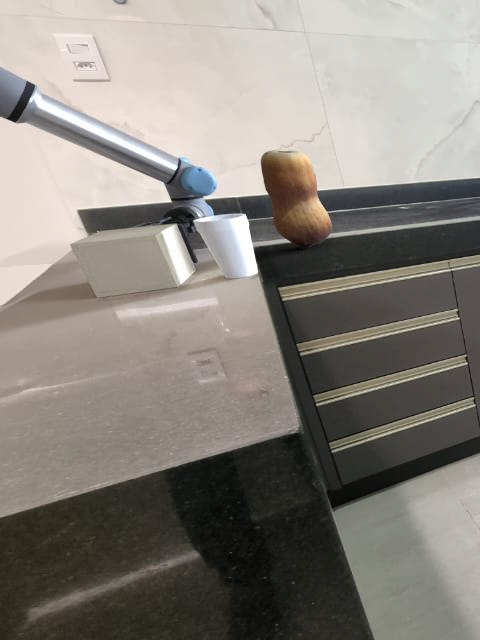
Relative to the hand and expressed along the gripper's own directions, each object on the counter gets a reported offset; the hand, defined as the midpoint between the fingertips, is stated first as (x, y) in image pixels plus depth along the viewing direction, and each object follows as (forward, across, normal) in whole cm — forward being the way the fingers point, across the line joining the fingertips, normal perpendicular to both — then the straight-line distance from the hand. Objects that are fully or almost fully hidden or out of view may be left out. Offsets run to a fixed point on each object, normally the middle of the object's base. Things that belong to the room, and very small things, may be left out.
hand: (157, 235), depth 128 cm
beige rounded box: (+16, 0, -8) cm, 18 cm away
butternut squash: (-5, -30, -8) cm, 32 cm away
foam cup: (+19, -18, -8) cm, 27 cm away
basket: (+6, 0, -7) cm, 9 cm away
